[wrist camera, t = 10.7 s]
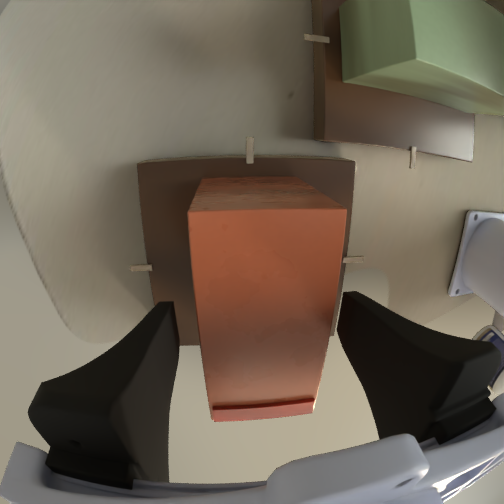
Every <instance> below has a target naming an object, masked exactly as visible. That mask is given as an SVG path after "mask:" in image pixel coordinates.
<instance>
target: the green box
mask: <svg viewBox="0 0 504 504" xmlns="http://www.w3.org/2000/svg"><path fill="white" fill-rule="evenodd" d="M339 15H340V30H341V51H342V82H345V83H352V84H358V85H363V86H369V87H374V88H379V89H384V90H389V91H393V92H397V93H402V94H406V95H410V96H414V97H418V98H421V99H425V100H428V101H432V102H435V103H439V104H442V105H445V106H448V107H451V108H454V109H457V110H460V111H463V112H466V113H476V114H490V115H501V116H504V15H503V14H502V13H501V12H499V11H498V10H496V9H495V8H494V7H492V6H491V5H489V4H488V3H486V2H485V1H483V0H346V1H345V2H344V3H343V4H342V5H341V6H340V7H339Z"/></svg>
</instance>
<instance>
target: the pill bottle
mask: <svg viewBox="0 0 504 504" xmlns="http://www.w3.org/2000/svg"><path fill="white" fill-rule="evenodd" d="M472 340H480V341H490V342H492V343H493V344H494V345H495V346H496V347H497V348H498V349H499V350H500V352H501V353H502V359H501V363H500V366H499V368H498V370H497V372H496V373H495V375H494V377H493V379H492V380H491V382H490V383H489V385H488V386H489V387H490V389H491V390H492V391H493V392H494V393H495V394H496V395H500V394H502V393H504V335H503V334H502V333H501V332H500V331H499V330H498V329H497V328H496V327H494V326H493V325H488V326H486V327H484V328H482V329H481V330H480V331H479V332H478V333H477V334H476V335H475V336H474V337H473V338H472Z"/></svg>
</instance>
